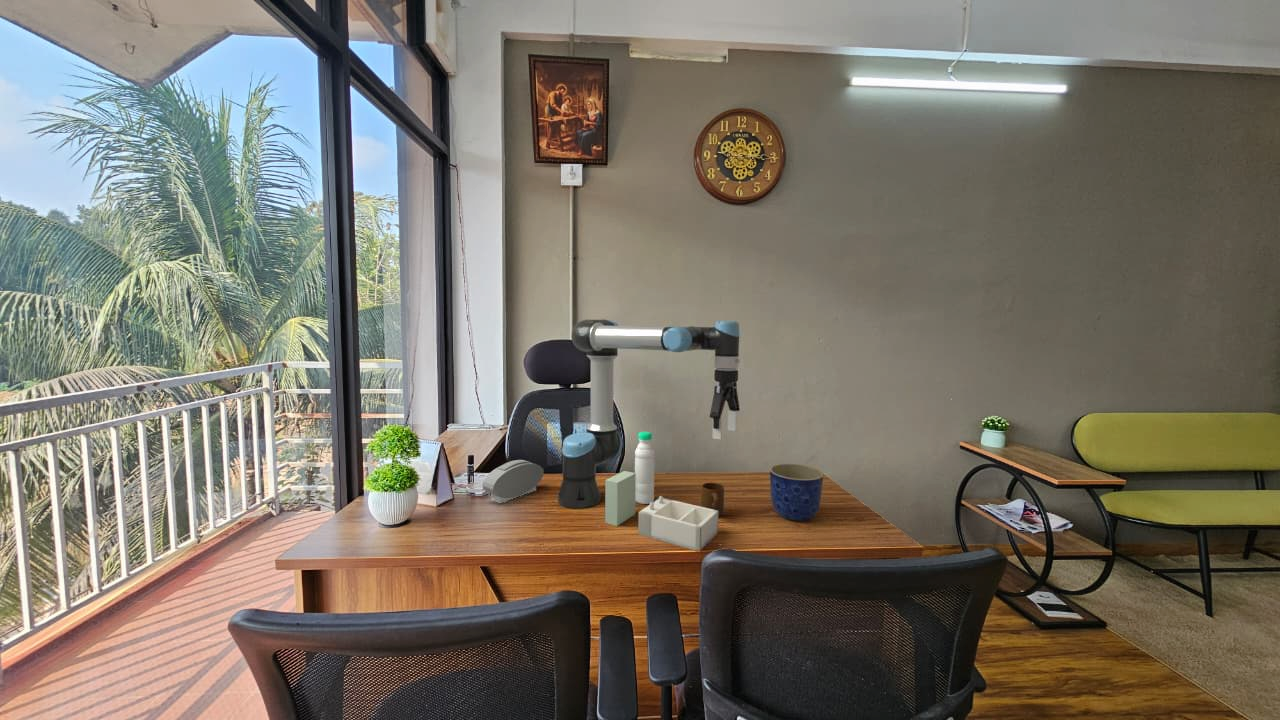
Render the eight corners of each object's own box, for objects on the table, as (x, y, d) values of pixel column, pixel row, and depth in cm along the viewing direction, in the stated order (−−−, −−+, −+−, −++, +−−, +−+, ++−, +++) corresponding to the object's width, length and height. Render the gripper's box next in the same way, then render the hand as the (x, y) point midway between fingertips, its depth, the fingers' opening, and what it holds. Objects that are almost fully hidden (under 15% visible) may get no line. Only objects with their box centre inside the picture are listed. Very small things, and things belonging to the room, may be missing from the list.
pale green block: (605, 522, 151) (605, 480, 150) (623, 511, 160) (624, 470, 159) (617, 526, 149) (617, 482, 147) (635, 514, 158) (635, 473, 157)
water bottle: (656, 498, 172) (657, 431, 170) (650, 505, 165) (651, 435, 163) (638, 496, 174) (638, 429, 172) (631, 503, 167) (632, 433, 165)
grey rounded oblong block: (532, 485, 185) (532, 453, 184) (543, 488, 181) (543, 456, 180) (482, 503, 166) (481, 467, 165) (493, 507, 162) (492, 471, 161)
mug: (727, 523, 151) (728, 495, 150) (704, 523, 151) (704, 495, 150) (721, 509, 163) (722, 482, 162) (699, 508, 163) (700, 482, 162)
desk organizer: (638, 534, 143) (638, 505, 142) (660, 518, 155) (660, 491, 154) (699, 551, 133) (700, 520, 132) (717, 532, 145) (718, 504, 144)
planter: (759, 515, 158) (760, 471, 156) (782, 501, 170) (783, 460, 169) (808, 531, 146) (810, 483, 145) (829, 515, 159) (831, 471, 157)
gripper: (723, 373, 139) (721, 444, 141) (749, 366, 160) (748, 428, 162) (699, 371, 143) (698, 440, 145) (728, 365, 164) (727, 425, 166)
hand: (724, 434), depth 153 cm, fingers open, 13 cm apart
